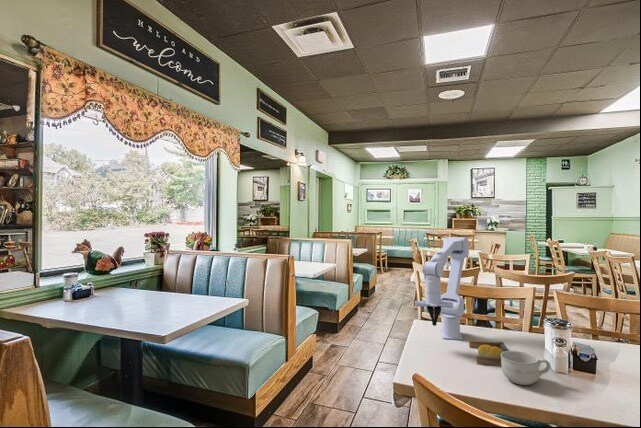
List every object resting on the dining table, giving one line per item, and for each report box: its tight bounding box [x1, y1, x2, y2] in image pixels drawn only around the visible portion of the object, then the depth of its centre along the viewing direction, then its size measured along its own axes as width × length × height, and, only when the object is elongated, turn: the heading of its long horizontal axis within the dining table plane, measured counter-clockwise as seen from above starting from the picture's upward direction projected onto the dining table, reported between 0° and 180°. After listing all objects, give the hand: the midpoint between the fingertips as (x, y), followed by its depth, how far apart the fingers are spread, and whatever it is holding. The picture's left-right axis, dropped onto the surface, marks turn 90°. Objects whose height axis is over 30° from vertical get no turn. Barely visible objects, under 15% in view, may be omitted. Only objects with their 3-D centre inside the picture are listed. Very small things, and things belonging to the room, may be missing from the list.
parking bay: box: [468, 339, 510, 367], centre depth 127 cm, size 16×12×2 cm
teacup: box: [501, 350, 551, 386], centre depth 108 cm, size 14×11×8 cm
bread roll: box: [477, 345, 503, 357], centre depth 127 cm, size 8×9×4 cm
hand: (434, 324), depth 136 cm, fingers closed
